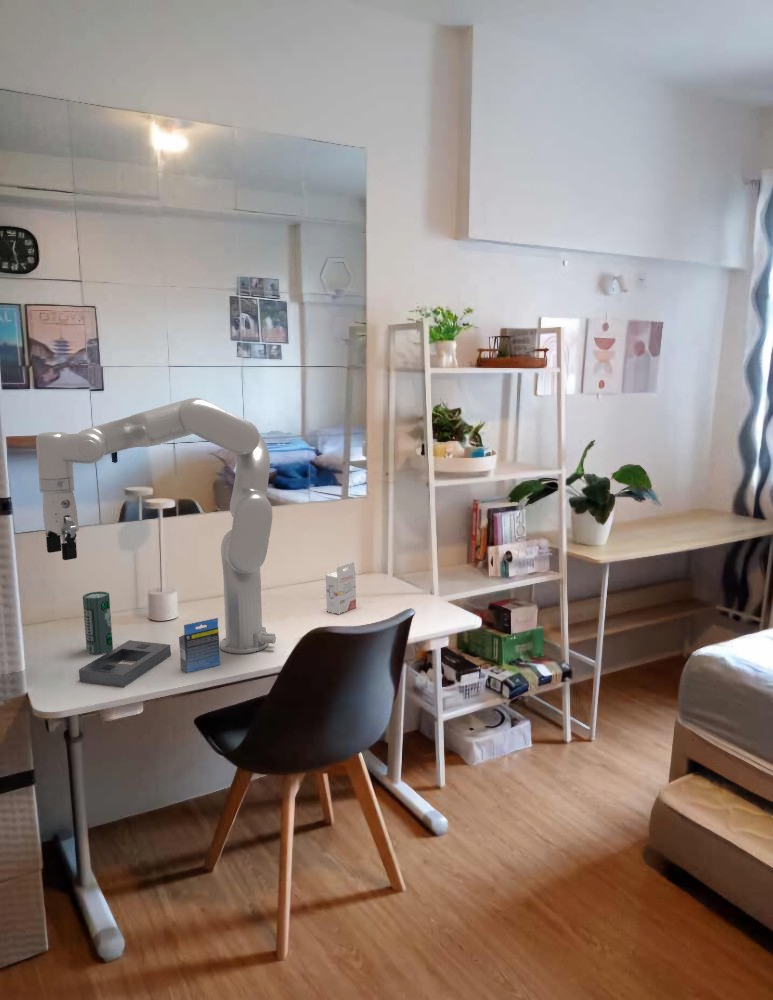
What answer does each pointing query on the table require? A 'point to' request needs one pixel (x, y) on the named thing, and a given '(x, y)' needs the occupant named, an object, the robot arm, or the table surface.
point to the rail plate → (119, 674)
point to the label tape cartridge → (199, 646)
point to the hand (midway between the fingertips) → (61, 555)
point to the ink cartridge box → (341, 589)
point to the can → (97, 622)
